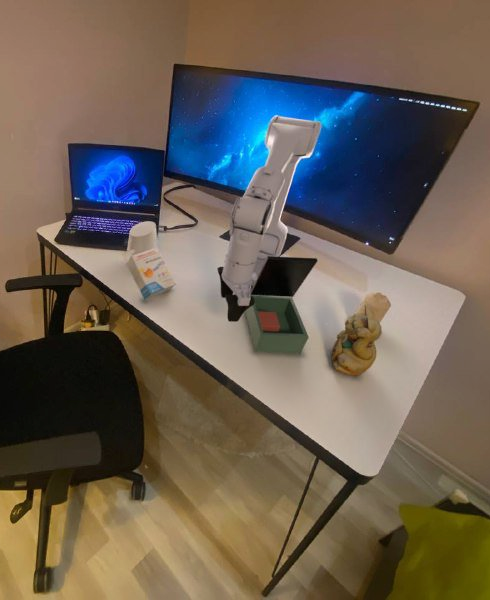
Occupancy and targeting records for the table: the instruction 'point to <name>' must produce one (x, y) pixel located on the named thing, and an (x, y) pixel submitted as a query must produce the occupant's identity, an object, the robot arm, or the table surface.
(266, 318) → the red block
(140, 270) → the ink box
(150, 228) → the smart speaker
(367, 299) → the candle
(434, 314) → the table surface
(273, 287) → the black square lid
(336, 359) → the decorative figurine
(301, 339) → the green open box
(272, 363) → the table surface
